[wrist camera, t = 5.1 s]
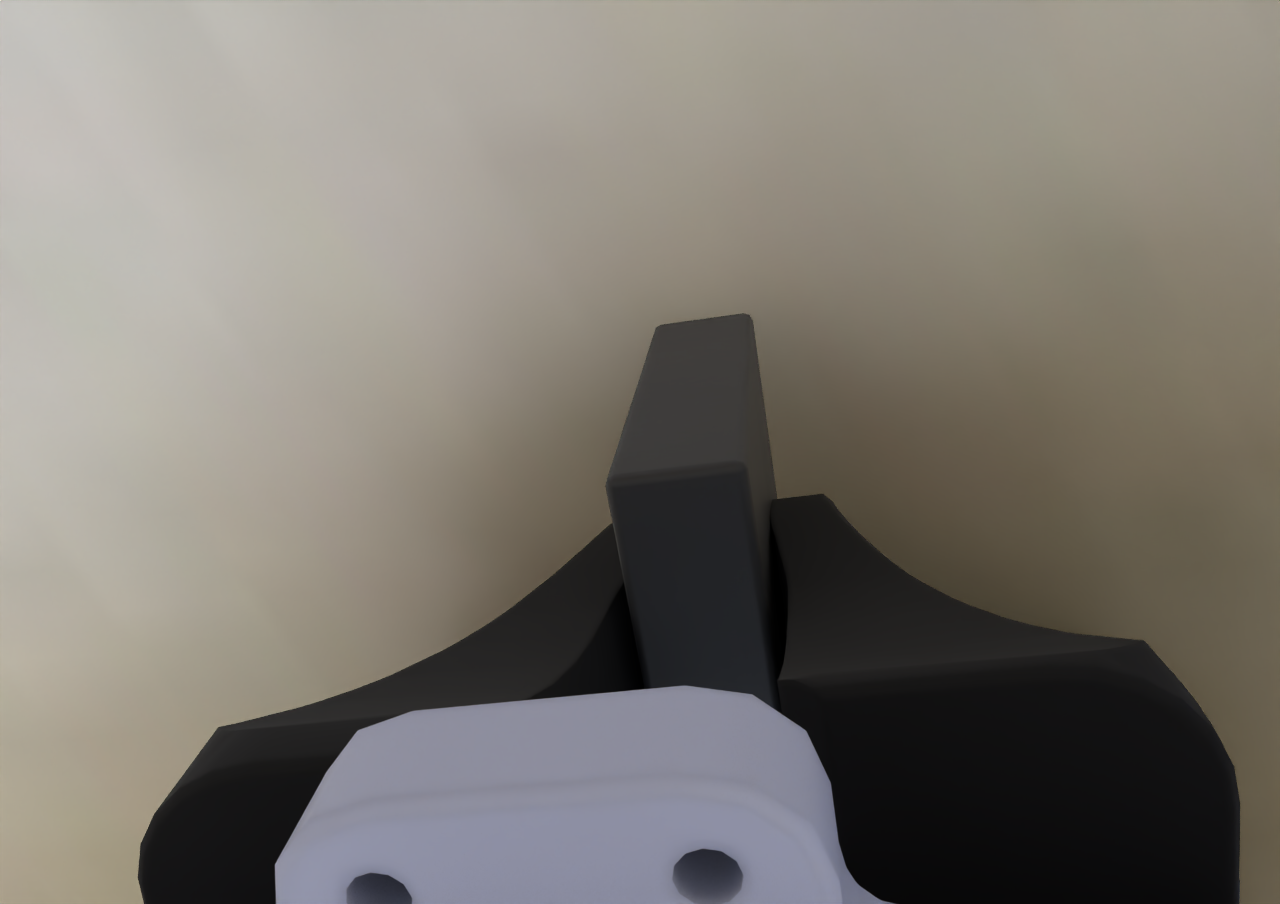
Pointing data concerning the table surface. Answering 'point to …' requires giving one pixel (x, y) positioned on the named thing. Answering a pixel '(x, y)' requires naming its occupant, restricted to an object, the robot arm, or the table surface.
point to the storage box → (700, 514)
